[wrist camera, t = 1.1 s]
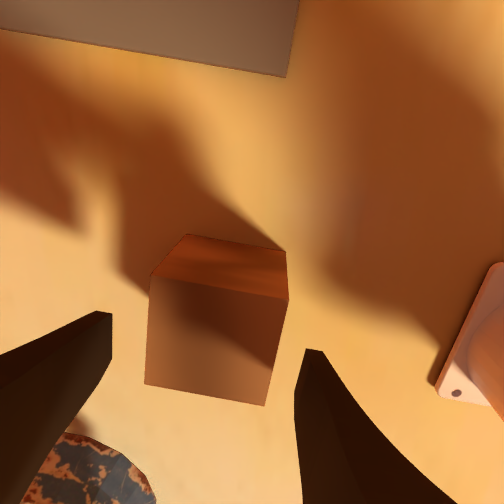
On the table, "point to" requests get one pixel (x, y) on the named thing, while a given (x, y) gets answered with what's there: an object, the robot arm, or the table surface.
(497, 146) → the table surface
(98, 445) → the lantern
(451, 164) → the table surface
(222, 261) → the walnut cube
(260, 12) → the rubber mat
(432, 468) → the table surface
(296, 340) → the table surface
